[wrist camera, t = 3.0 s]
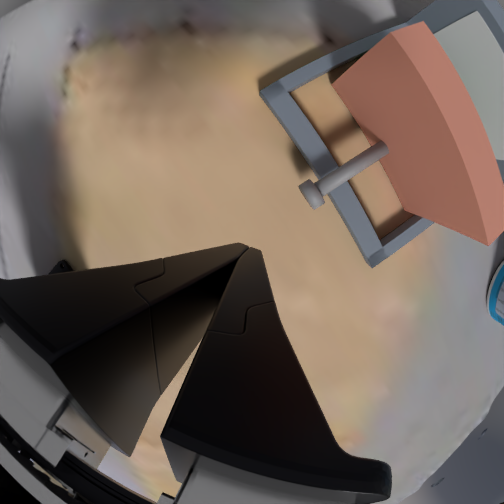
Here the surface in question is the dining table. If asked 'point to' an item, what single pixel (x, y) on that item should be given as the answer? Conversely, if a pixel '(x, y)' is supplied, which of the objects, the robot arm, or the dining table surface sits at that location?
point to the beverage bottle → (497, 295)
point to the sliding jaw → (421, 135)
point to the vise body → (467, 66)
